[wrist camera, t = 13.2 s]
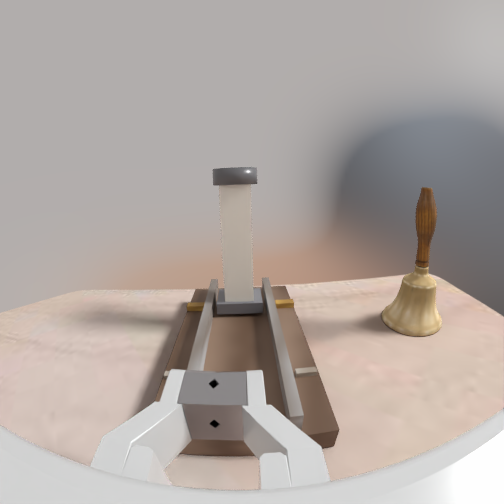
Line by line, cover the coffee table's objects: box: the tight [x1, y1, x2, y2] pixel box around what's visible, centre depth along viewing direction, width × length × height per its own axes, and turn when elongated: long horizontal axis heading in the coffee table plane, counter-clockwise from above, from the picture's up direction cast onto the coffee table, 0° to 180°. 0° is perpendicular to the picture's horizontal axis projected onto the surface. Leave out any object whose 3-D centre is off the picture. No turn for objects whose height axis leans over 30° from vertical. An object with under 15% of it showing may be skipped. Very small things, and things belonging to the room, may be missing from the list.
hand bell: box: [382, 187, 442, 336], centre depth 27 cm, size 8×8×16 cm
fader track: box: [155, 278, 339, 456], centre depth 25 cm, size 12×24×4 cm, turn 2°
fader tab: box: [213, 167, 263, 314], centre depth 28 cm, size 5×4×15 cm
